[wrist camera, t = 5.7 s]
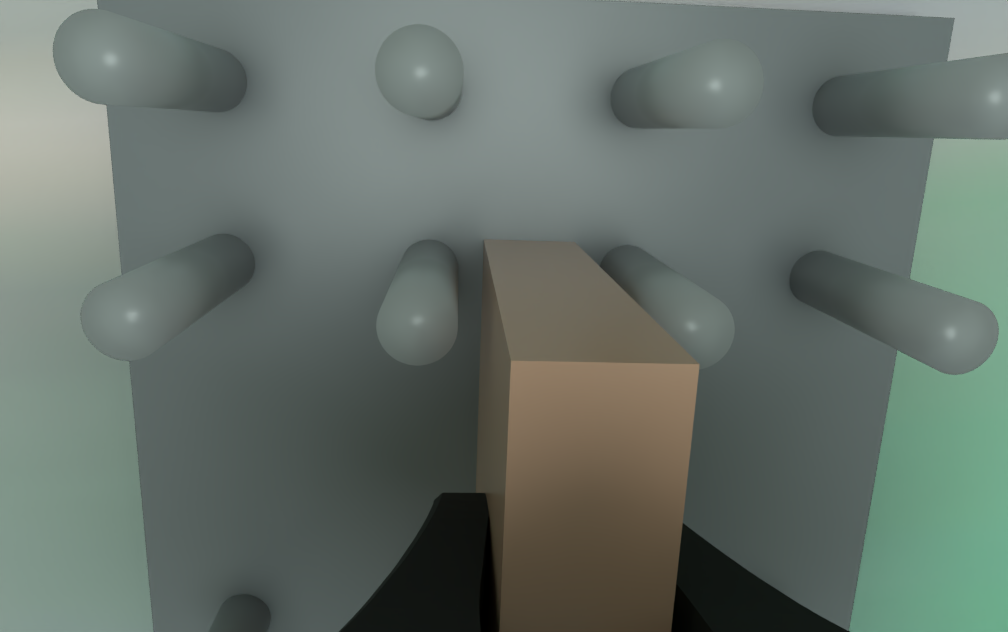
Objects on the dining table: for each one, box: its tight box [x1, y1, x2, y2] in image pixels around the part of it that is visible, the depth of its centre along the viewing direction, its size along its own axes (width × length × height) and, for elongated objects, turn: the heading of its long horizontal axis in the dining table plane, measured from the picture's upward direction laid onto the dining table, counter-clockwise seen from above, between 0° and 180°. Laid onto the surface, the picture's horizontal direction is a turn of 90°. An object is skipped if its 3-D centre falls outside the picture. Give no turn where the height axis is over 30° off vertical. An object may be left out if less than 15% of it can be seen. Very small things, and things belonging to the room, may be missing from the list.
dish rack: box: [53, 0, 1008, 632], centre depth 13 cm, size 16×14×5 cm
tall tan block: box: [476, 239, 700, 632], centre depth 11 cm, size 8×2×7 cm, turn 178°
